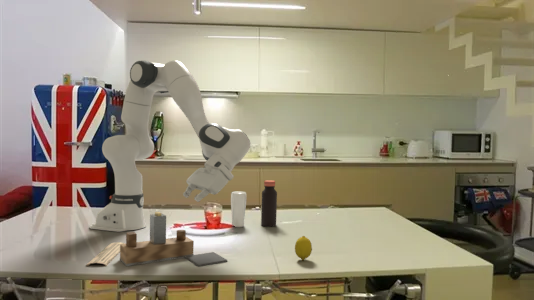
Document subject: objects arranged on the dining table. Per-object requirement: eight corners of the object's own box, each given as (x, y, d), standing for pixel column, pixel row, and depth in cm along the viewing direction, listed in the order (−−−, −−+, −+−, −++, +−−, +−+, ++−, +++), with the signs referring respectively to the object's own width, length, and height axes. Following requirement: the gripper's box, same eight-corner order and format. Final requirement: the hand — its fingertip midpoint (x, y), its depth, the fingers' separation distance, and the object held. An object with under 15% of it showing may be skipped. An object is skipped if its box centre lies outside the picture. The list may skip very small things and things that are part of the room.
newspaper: (106, 268, 128) (106, 262, 128) (82, 268, 128) (82, 262, 128) (126, 247, 152) (126, 242, 152) (106, 247, 151) (106, 242, 151)
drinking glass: (233, 228, 182) (234, 193, 181) (227, 225, 188) (228, 191, 187) (248, 227, 185) (249, 193, 184) (241, 224, 191) (242, 191, 190)
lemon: (293, 257, 142) (294, 234, 141) (309, 257, 142) (310, 234, 142) (295, 262, 136) (296, 238, 136) (312, 262, 137) (313, 238, 136)
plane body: (126, 266, 129) (126, 236, 128) (119, 259, 135) (120, 231, 134) (193, 256, 141) (194, 229, 140) (184, 250, 147) (185, 224, 146)
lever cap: (153, 244, 135) (154, 214, 134) (149, 241, 138) (150, 212, 138) (165, 243, 137) (166, 213, 136) (161, 240, 140) (162, 211, 140)
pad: (198, 266, 130) (198, 264, 130) (185, 258, 138) (185, 256, 138) (227, 261, 135) (227, 259, 135) (213, 253, 144) (213, 252, 144)
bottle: (267, 227, 185) (269, 182, 184) (257, 224, 190) (259, 180, 189) (279, 225, 189) (280, 181, 189) (269, 223, 195) (270, 179, 194)
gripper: (198, 160, 155) (172, 188, 150) (224, 164, 138) (196, 196, 133) (209, 172, 158) (184, 199, 153) (236, 177, 141) (209, 209, 136)
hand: (190, 198), depth 143 cm, fingers open, 8 cm apart
